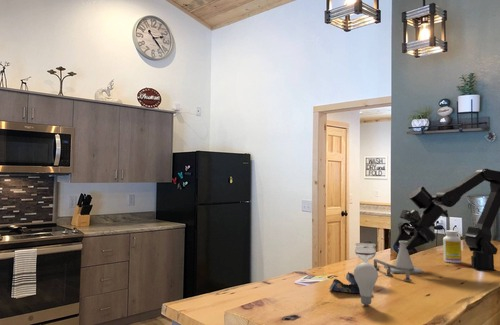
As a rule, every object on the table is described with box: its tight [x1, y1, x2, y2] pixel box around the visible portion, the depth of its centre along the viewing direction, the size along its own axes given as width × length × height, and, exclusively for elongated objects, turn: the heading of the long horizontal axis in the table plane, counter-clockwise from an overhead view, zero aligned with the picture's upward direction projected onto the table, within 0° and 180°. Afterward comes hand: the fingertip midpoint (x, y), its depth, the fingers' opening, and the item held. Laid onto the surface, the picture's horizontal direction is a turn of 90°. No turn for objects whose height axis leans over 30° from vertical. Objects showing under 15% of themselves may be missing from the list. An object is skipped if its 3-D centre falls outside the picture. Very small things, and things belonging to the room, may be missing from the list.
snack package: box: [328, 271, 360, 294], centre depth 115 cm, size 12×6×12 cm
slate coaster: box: [383, 265, 426, 275], centre depth 146 cm, size 11×11×1 cm
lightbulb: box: [353, 261, 379, 307], centre depth 102 cm, size 6×6×11 cm
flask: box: [394, 240, 415, 270], centre depth 146 cm, size 7×7×10 cm
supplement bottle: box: [442, 229, 463, 264], centre depth 164 cm, size 7×7×13 cm
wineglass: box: [354, 242, 377, 263], centre depth 129 cm, size 7×7×12 cm
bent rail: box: [373, 258, 413, 283], centre depth 138 cm, size 4×22×4 cm, turn 14°
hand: (400, 247), depth 146 cm, fingers open, 9 cm apart
